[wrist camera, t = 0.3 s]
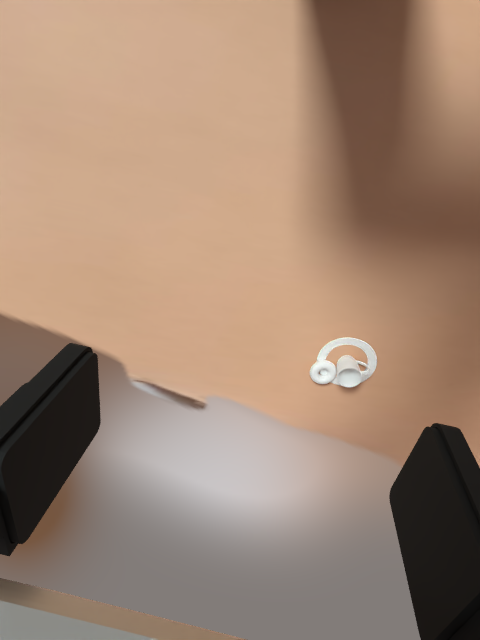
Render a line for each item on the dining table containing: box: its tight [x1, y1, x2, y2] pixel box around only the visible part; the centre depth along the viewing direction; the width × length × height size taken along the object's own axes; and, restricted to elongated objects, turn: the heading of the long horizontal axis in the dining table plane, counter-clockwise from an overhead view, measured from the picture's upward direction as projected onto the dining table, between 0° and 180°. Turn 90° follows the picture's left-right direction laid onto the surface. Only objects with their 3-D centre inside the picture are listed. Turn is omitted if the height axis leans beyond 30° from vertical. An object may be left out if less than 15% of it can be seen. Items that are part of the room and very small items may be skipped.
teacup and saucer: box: [310, 337, 377, 387], centre depth 50 cm, size 9×8×4 cm
